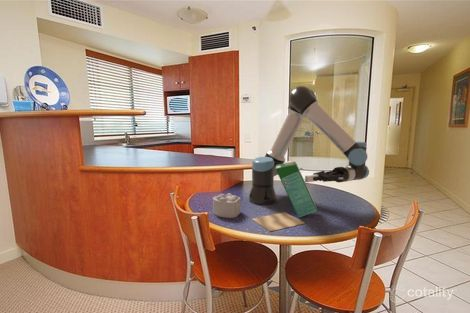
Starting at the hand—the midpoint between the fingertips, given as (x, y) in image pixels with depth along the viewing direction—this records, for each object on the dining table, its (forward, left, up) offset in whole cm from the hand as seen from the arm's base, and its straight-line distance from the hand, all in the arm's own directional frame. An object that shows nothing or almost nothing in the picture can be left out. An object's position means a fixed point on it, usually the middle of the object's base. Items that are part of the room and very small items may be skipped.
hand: (306, 179), depth 111 cm
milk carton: (+1, +2, -16) cm, 16 cm away
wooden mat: (-9, -12, -17) cm, 23 cm away
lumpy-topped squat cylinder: (-34, -14, -18) cm, 41 cm away
